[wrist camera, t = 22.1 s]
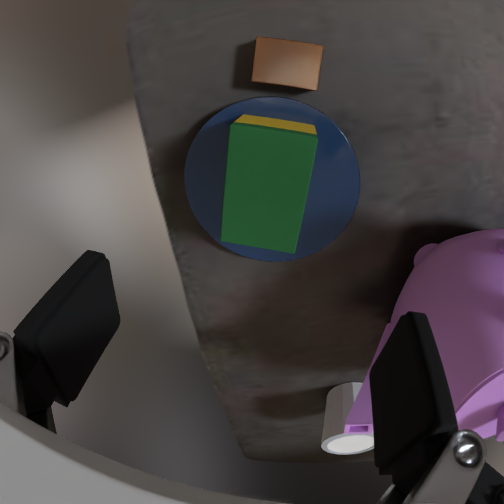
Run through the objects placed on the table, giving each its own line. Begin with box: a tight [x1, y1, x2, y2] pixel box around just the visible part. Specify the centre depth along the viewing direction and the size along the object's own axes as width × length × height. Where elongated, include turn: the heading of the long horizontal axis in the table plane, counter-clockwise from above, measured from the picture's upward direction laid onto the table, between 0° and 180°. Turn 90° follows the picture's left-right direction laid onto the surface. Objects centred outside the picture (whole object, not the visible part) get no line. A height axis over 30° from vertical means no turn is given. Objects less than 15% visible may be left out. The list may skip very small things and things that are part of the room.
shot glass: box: [321, 382, 374, 455], centre depth 31 cm, size 7×7×7 cm
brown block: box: [251, 37, 323, 91], centre depth 17 cm, size 4×3×1 cm
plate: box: [184, 96, 360, 262], centre depth 21 cm, size 12×12×1 cm
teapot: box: [344, 228, 504, 442], centre depth 17 cm, size 20×20×15 cm
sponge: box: [220, 114, 318, 254], centre depth 19 cm, size 4×7×4 cm, turn 174°
